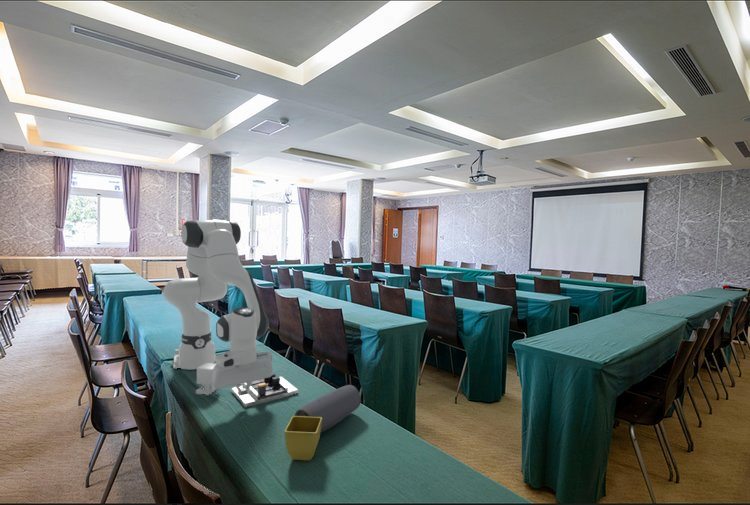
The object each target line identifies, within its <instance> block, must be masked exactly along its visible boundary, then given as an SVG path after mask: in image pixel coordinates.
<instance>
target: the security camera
mask: <svg viewBox="0 0 750 505" xmlns="http://www.w3.org/2000/svg"><path fill="white" fill-rule="evenodd" d="M215 365H216V363H205V364H203V365H201V366H200V367H198V368H197V369H196V384H197V385H202V386H200V387H199V388H197V389H196V390H195V394H196V395H202V394H206V395H205V396H210V395H211V394H212V392H213V393H215V392H216V391H217V390H218V389H215V388H214V387H213V386H212V372H213V368H214V366H215ZM203 388H204V390H203ZM215 390H216V391H215ZM210 393H211V394H210ZM209 394H210V395H209Z"/></svg>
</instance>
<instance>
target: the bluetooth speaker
mask: <svg viewBox="0 0 750 505" xmlns="http://www.w3.org/2000/svg"><path fill="white" fill-rule="evenodd" d="M361 401H362V398H361V394H360V392H359V389H357V387H356V386H355V385H352V384H347V385H344V386H341V387H338V388H336V389H333V390H332V391H329V392H328V393H327V392H326V394H323V395H321V396H319V397H317V398H316V399H314V400H311V401H309V402H308V403H307V404H305V405H303V406H301V407H300V408H298V409H297V410H296V411H295V414H294V416H305V417H322V424H321V433H324V432H326V431H328V430H330V429H331V428H333V427H335V426H336V425H338V424H339V423H340V422H342V420H343V419H344V418H346V417H348V416H349V415H350V414H352V413H353V412H354V411H356V410H357V409H358V408H359V407H360V405H361V403H362V402H361ZM337 423H338V424H337ZM334 425H335V426H334ZM329 428H330V429H329ZM327 429H328V430H327ZM325 430H326V431H325ZM323 431H324V432H323Z"/></svg>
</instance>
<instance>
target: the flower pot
mask: <svg viewBox="0 0 750 505" xmlns="http://www.w3.org/2000/svg"><path fill="white" fill-rule="evenodd" d="M321 424H322V417H305V416H295V415H293V416H291V418H290V420H289V421H288V424H287V425H286V427H285V429H284V438H285V447H286V451H287V453H288V455H289V457H290V458H291V460H292V461H293V460H294V461H295V460H297V461H311V460H312V459H313V457H314V455H315V452H316V449H317V446H318V443H319V440H320V437H321V433H322V432H321ZM320 432H321V433H320Z"/></svg>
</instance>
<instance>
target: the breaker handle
mask: <svg viewBox="0 0 750 505" xmlns="http://www.w3.org/2000/svg"><path fill="white" fill-rule="evenodd" d="M258 394H259V395H264V394H266V384H265V383H260V384H258Z"/></svg>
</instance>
